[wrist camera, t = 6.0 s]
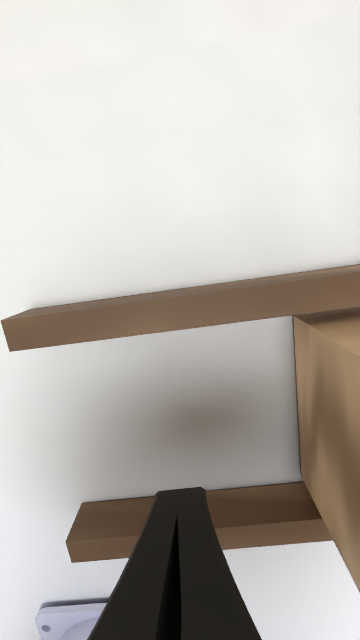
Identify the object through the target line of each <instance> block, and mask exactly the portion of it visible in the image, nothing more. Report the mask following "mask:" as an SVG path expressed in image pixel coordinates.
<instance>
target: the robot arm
mask: <svg viewBox="0 0 360 640" xmlns="http://www.w3.org/2000/svg"><path fill="white" fill-rule="evenodd" d="M35 620H36V624H37V627H38V629H39V632H40V635H41V638H42V640H262V639H261V637H260V635H259V633H258V631H257V629H256V627H255V625H254V622H253V620H252V618H251V616H250V614H249V612H248V610H247V608H246V605H245V603H244V601H243V599H242V597H241V594H240V592H239V590H238V588H237V585H236V583H235V581H234V578H233V576H232V574H231V571H230V569H229V566H228V564H227V561H226V559H225V556H224V554H223V551H222V549H221V546H220V543H219V541H218V538H217V535H216V532H215V529H214V526H213V523H212V520H211V516H210V513H209V509H208V504H207V498H206V491H205V489H203V488H202V487H195V488H185V489H175V490H165V491H159V492H158V493H157V494H156V495H155V498H154V501H153V503H152V506H151V509H150V511H149V514H148V517H147V519H146V521H145V524H144V526H143V529H142V531H141V533H140V536H139V538H138V540H137V542H136V545H135V547H134V549H133V551H132V553H131V555H130V557H129V560H128V562H127V564H126V566H125V568H124V570H123V572H122V574H121V576H120V579H119V581H118V582H117V584H116V586H115V588H114V590H113V592H112V594H111V596H110V598H109V600H108V602H107V603H95V604H82V605H69V606H56V607H45V608H42V609H40V610H39V612H38V614H37V616H36V619H35Z"/></svg>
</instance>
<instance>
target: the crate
mask: <svg viewBox="0 0 360 640" xmlns="http://www.w3.org/2000/svg"><path fill="white" fill-rule="evenodd" d="M293 318H294V338H295V358H296V377H297V397H298V417H299V437H300V457H301V477H302V479H303V481H304V483H305V485H306V487H307V489H308V491H309V493H310V495H311V497H312V499H313V501H314V503H315V505H316V507H317V509H318V511H319V513H320V515H321V517H322V519H323V521H324V523H325V525H326V527H327V529H328V531H329V533H330V535H331V537H332V539H333V541H334V543H335V545H336V547H337V548H338V550H339V552H340V554H341V556H342V558H343V560H344V562H345V564H346V566H347V568H348V570H349V572H350V574H351V576H352V578H353V580H354V582H355V584H356V586H357V588H358V590H359V592H360V307H353V308H346V309H338V310H330V311H322V312H315V313H307V314H299V315H293Z"/></svg>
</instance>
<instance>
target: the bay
mask: <svg viewBox="0 0 360 640" xmlns="http://www.w3.org/2000/svg"><path fill="white" fill-rule="evenodd" d="M352 307H360V264H358V265H350V266H343V267H336V268H329V269H321V270H314V271H307V272H299V273H292V274H285V275H278V276H270V277H263V278H256V279H248V280H241V281H234V282H226V283H219V284H212V285H205V286H197V287H190V288H183V289H175V290H168V291H161V292H154V293H146V294H139V295H132V296H124V297H117V298H110V299H102V300H95V301H88V302H81V303H73V304H66V305H59V306H51V307H44V308H37V309H30V310H27V311H24V312H22V313H19V314H17V315H14V316H11V317H9V318H6V319H4V320H1V324H2V327H3V330H4V334H5V337H6V341H7V344H8V347H9V351H10V352H11V351H19V350H27V349H35V348H42V347H50V346H58V345H66V344H73V343H81V342H89V341H97V340H104V339H112V338H120V337H128V336H135V335H143V334H151V333H159V332H166V331H174V330H182V329H190V328H197V327H205V326H213V325H221V324H228V323H236V322H244V321H252V320H259V319H267V318H275V317H282V316H290V315H298V314H306V313H313V312H321V311H329V310H337V309H344V308H352ZM154 498H155V496H154V497H143V498H133V499H123V500H112V501H102V502H92V503H82V504H81V506H80V509H79V511H78V513H77V516H76V518H75V521H74V523H73V525H72V528H71V530H70V533H69V535H68V537H67V540H66V545H67V548H68V552H69V555H70V558H71V562H72V563H74V562H86V561H98V560H109V559H121V558H129V557H130V555H131V553H132V551H133V549H134V547H135V545H136V542H137V540H138V538H139V536H140V533H141V531H142V529H143V526H144V524H145V521H146V519H147V517H148V514H149V511H150V509H151V506H152V503H153V501H154ZM206 498H207V504H208V509H209V513H210V516H211V520H212V523H213V526H214V529H215V532H216V535H217V538H218V541H219V543H220V546H221V549H222V550H226V549H238V548H250V547H261V546H273V545H285V544H297V543H308V542H320V541H332V540H333V539H332V537H331V535H330V533H329V531H328V529H327V527H326V525H325V523H324V521H323V519H322V517H321V515H320V513H319V511H318V509H317V507H316V505H315V503H314V501H313V499H312V497H311V495H310V493H309V491H308V489H307V487H306V485H305V483H304V482H298V483H288V484H277V485H267V486H257V487H246V488H236V489H226V490H215V491H206Z"/></svg>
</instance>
